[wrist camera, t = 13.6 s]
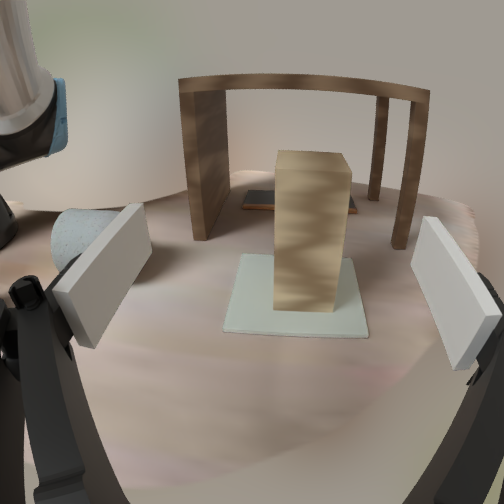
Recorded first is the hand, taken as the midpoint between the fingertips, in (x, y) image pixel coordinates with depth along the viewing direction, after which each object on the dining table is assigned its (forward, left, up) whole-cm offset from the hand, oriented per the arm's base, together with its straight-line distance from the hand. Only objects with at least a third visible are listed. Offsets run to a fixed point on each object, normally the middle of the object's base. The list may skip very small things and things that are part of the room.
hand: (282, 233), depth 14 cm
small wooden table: (+2, +27, -12) cm, 29 cm away
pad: (+1, +10, -12) cm, 16 cm away
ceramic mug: (-19, +13, -12) cm, 26 cm away
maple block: (+2, +10, -11) cm, 15 cm away
